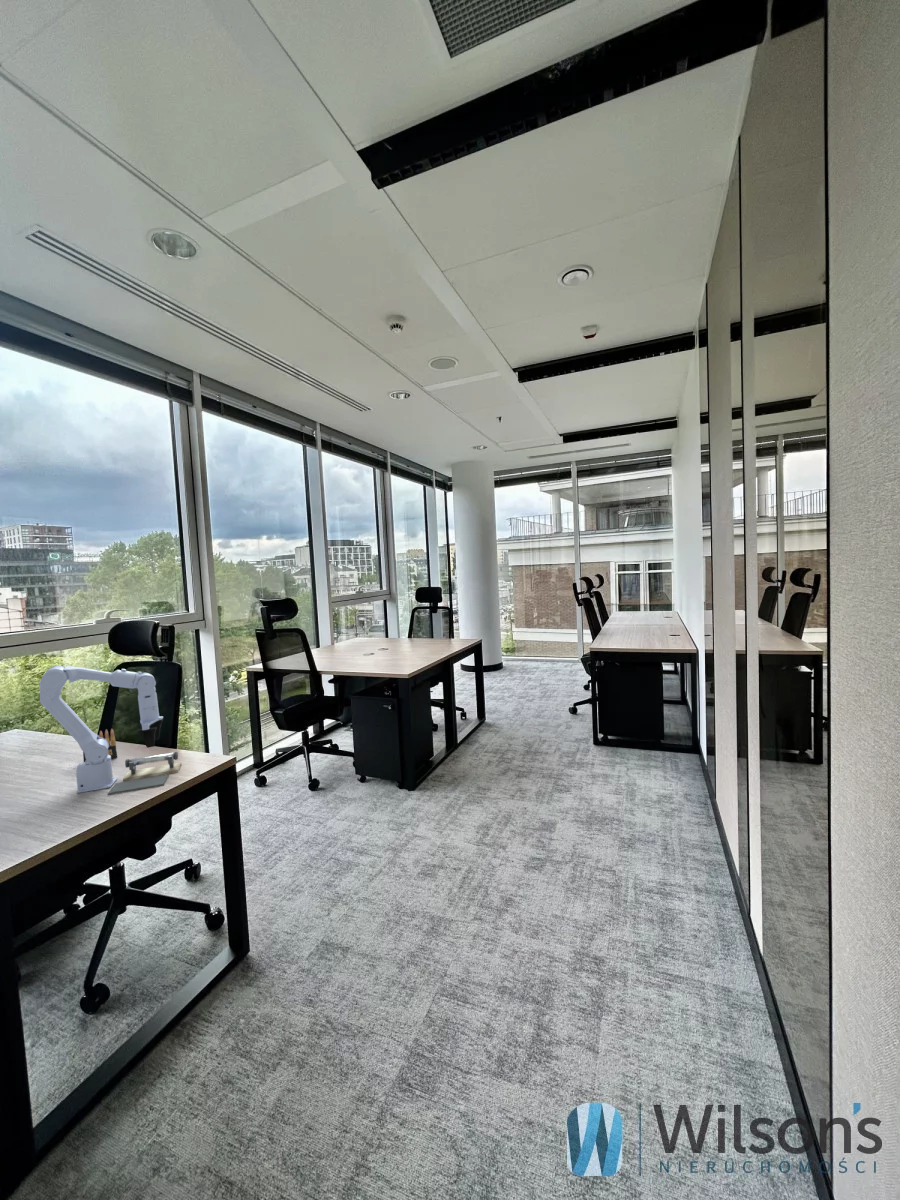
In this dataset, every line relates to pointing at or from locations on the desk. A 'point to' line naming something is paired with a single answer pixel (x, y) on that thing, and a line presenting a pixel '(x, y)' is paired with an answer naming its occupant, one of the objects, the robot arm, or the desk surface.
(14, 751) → the desk surface
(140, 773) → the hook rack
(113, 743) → the ammunition clip
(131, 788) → the rubber mat
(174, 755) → the rail
